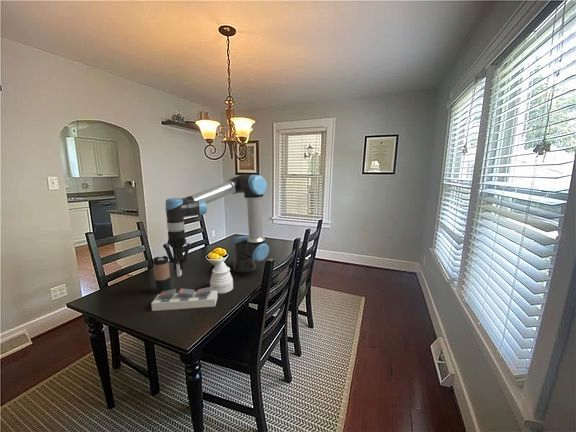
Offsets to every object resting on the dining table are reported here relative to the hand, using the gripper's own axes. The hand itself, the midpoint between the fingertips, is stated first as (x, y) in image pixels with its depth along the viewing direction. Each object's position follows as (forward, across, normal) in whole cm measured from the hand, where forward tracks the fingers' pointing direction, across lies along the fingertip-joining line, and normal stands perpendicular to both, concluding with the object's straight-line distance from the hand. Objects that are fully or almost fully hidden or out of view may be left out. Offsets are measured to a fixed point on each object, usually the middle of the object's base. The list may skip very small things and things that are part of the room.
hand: (179, 275), depth 126 cm
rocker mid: (+10, -2, 0) cm, 11 cm away
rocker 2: (+10, -12, 0) cm, 15 cm away
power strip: (+16, -2, +1) cm, 16 cm away
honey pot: (+16, -19, -14) cm, 28 cm away
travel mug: (+16, +13, -14) cm, 25 cm away
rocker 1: (+10, +6, 0) cm, 12 cm away
